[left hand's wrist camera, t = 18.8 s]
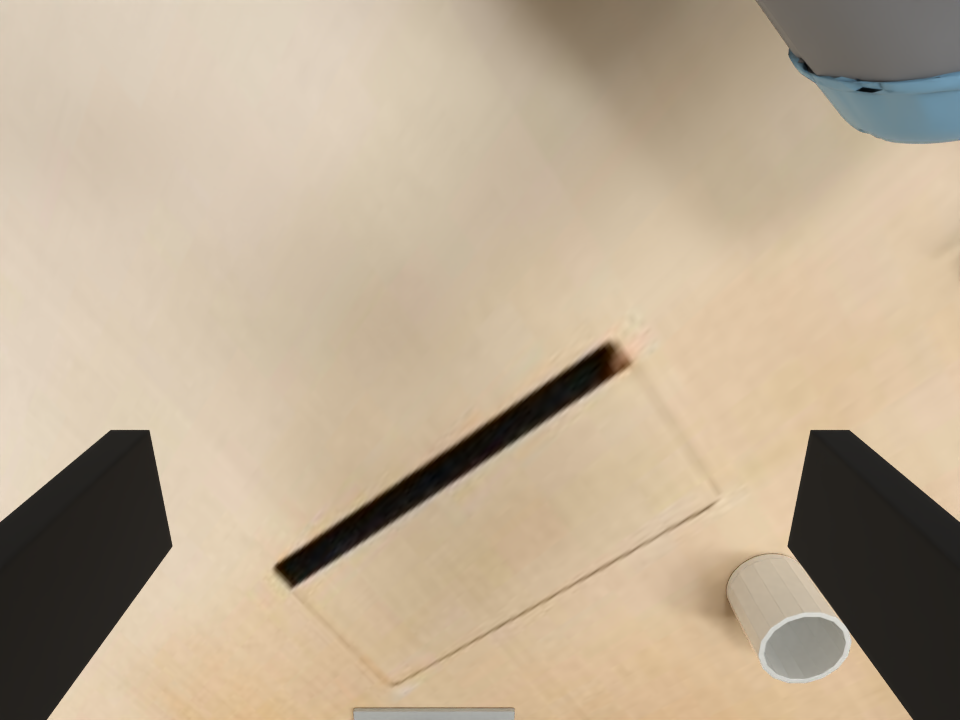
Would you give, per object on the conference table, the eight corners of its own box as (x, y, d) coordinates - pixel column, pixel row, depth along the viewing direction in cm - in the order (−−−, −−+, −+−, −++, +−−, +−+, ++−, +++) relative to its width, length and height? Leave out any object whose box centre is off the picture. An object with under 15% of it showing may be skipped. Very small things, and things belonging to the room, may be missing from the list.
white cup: (732, 553, 50) (766, 612, 44) (813, 553, 50) (859, 612, 44) (721, 618, 53) (752, 683, 47) (799, 618, 53) (841, 683, 47)
